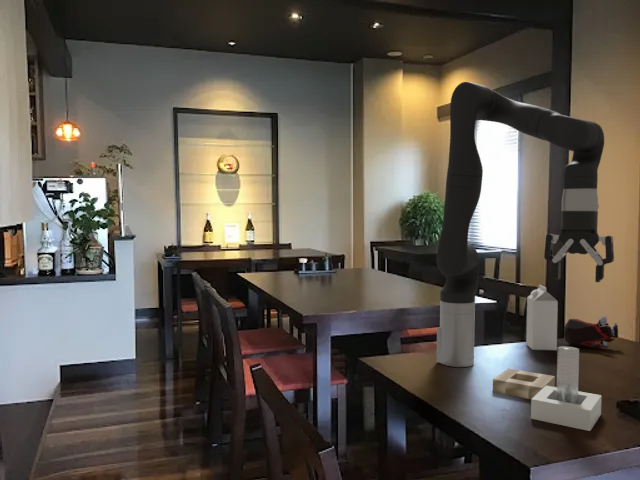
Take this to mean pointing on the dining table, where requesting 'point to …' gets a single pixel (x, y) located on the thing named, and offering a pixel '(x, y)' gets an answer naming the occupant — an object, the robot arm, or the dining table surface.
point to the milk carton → (541, 320)
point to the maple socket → (521, 383)
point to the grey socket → (566, 409)
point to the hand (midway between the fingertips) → (577, 280)
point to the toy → (589, 333)
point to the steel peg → (567, 374)
